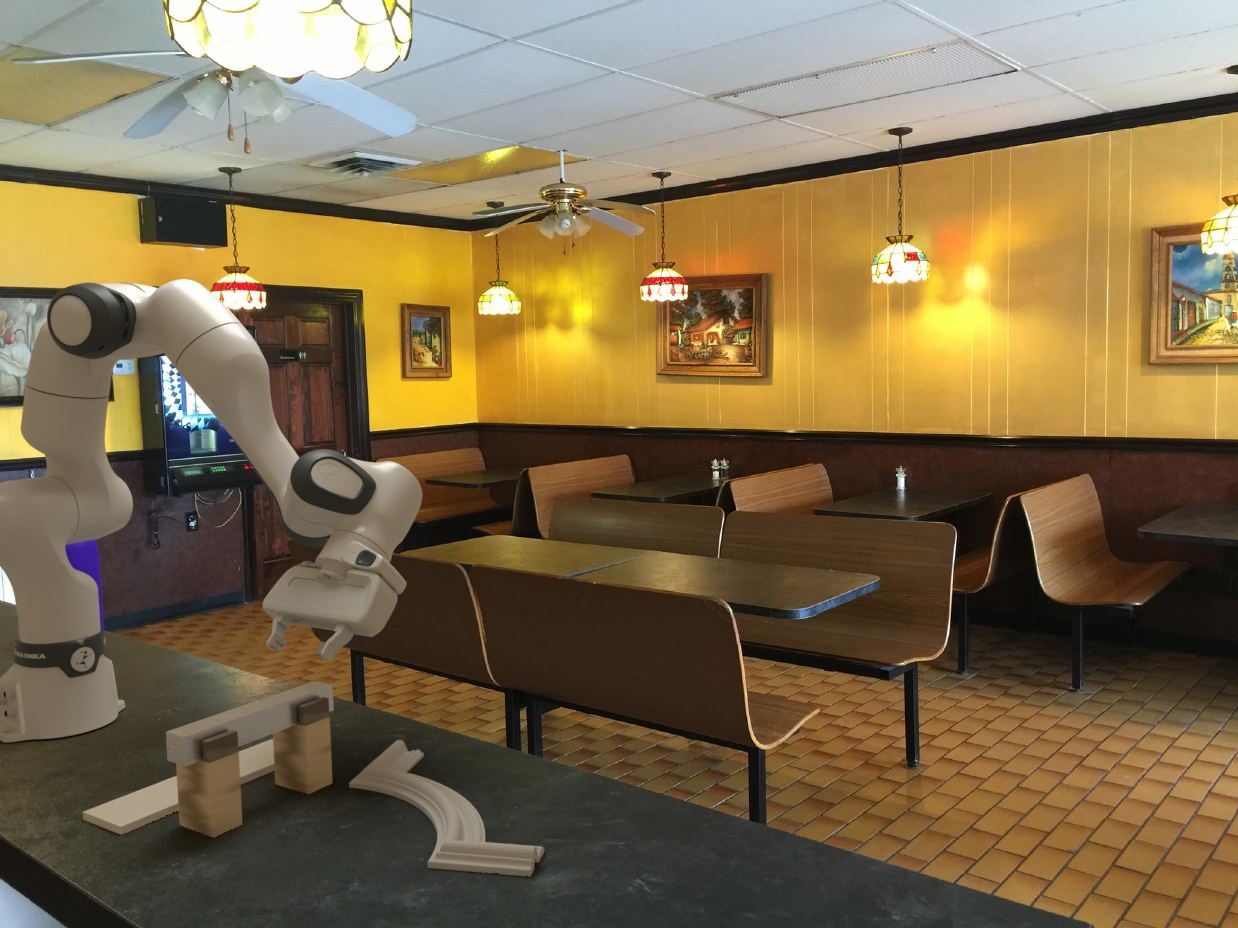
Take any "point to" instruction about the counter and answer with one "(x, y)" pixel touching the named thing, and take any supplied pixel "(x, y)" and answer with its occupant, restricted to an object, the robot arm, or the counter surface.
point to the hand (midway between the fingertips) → (296, 653)
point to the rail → (244, 722)
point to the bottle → (87, 565)
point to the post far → (305, 750)
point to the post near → (212, 788)
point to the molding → (445, 817)
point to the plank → (170, 795)
